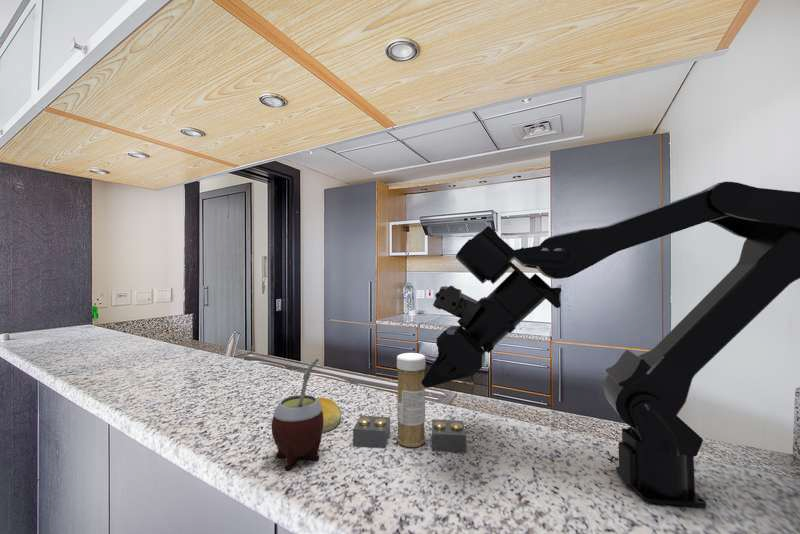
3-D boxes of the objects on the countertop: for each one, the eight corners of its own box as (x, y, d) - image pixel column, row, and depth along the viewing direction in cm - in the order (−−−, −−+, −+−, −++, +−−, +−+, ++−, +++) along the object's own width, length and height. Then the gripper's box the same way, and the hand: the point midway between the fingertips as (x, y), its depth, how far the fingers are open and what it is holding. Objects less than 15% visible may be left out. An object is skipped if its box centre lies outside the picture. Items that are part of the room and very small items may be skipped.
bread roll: (282, 436, 53) (283, 411, 53) (304, 413, 62) (304, 392, 62) (332, 438, 52) (332, 413, 52) (346, 415, 61) (346, 393, 61)
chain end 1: (390, 432, 54) (390, 414, 54) (385, 447, 49) (385, 428, 49) (360, 430, 54) (360, 413, 54) (352, 445, 49) (353, 426, 49)
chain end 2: (463, 436, 52) (463, 418, 52) (466, 452, 47) (465, 432, 47) (432, 434, 53) (432, 416, 53) (431, 450, 48) (431, 430, 48)
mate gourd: (286, 444, 50) (288, 346, 50) (335, 448, 49) (336, 347, 49) (258, 472, 42) (261, 357, 43) (315, 477, 41) (317, 359, 42)
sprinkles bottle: (399, 433, 53) (399, 351, 54) (427, 435, 52) (426, 352, 53) (394, 447, 49) (394, 357, 49) (424, 450, 48) (424, 359, 48)
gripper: (475, 270, 57) (416, 329, 61) (452, 264, 40) (372, 347, 44) (523, 316, 54) (458, 375, 58) (521, 332, 37) (429, 416, 40)
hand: (432, 376), depth 50 cm, fingers open, 9 cm apart
